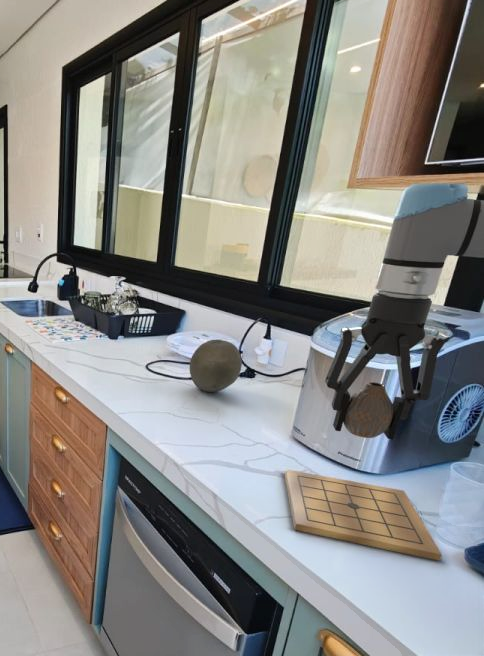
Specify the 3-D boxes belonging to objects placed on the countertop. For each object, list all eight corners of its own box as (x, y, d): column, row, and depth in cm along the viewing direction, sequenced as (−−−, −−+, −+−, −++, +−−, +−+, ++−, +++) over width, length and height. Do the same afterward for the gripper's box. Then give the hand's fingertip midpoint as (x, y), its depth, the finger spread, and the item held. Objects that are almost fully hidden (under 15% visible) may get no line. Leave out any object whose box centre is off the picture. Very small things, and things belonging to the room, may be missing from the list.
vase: (346, 439, 83) (360, 388, 79) (332, 423, 89) (345, 375, 86) (393, 444, 81) (409, 393, 78) (376, 427, 87) (391, 379, 84)
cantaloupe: (175, 390, 145) (183, 339, 139) (202, 380, 153) (210, 332, 148) (220, 404, 135) (230, 350, 129) (246, 393, 143) (256, 342, 138)
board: (402, 496, 93) (404, 490, 93) (439, 561, 76) (442, 554, 75) (284, 474, 100) (285, 468, 99) (294, 529, 82) (295, 523, 82)
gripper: (333, 292, 76) (299, 430, 85) (494, 304, 70) (439, 452, 79) (326, 286, 83) (295, 414, 91) (472, 296, 76) (424, 433, 85)
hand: (362, 431), depth 85 cm, fingers closed on vase, 7 cm apart
